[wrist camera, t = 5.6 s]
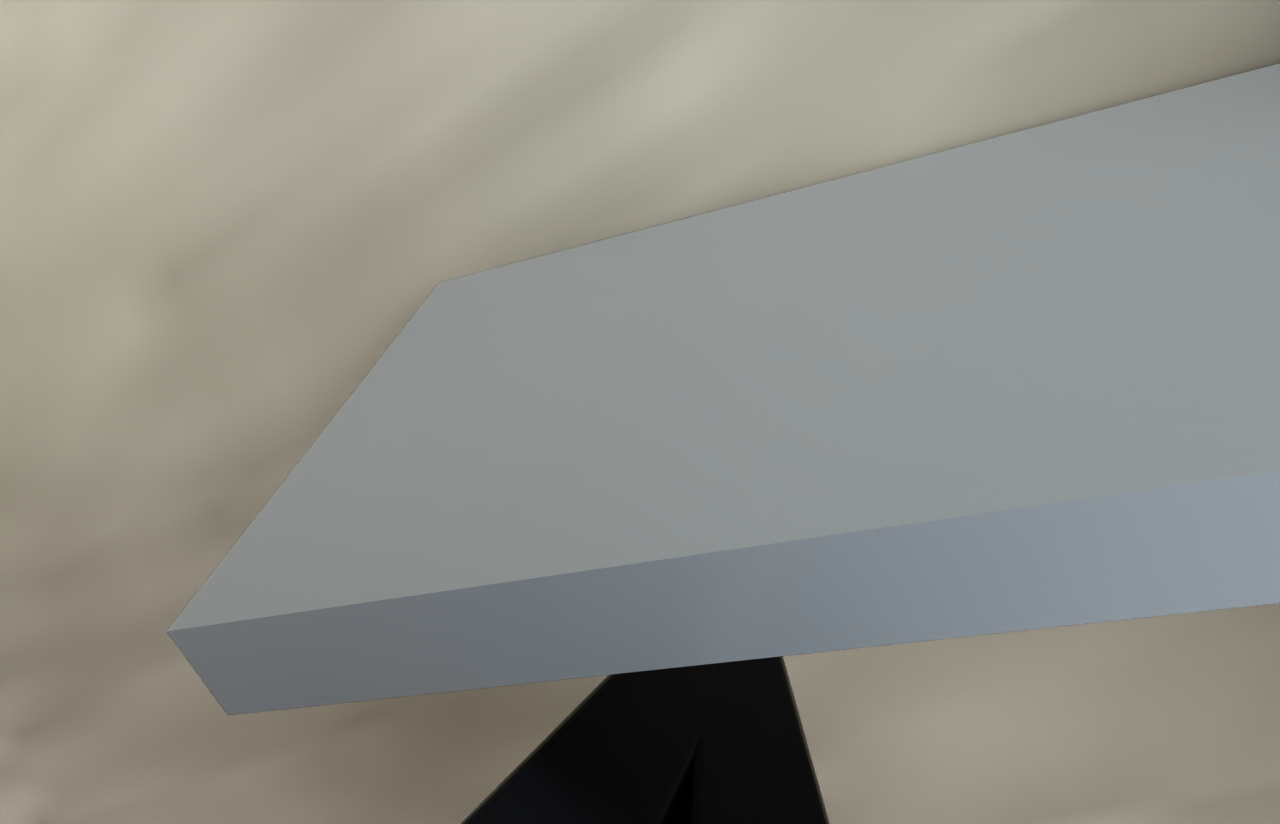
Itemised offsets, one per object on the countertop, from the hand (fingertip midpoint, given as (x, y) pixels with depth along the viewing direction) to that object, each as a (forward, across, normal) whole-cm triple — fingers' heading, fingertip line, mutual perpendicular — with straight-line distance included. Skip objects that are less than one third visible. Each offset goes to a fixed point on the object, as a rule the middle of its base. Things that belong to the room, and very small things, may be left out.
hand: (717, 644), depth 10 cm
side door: (+3, 0, -3) cm, 4 cm away
